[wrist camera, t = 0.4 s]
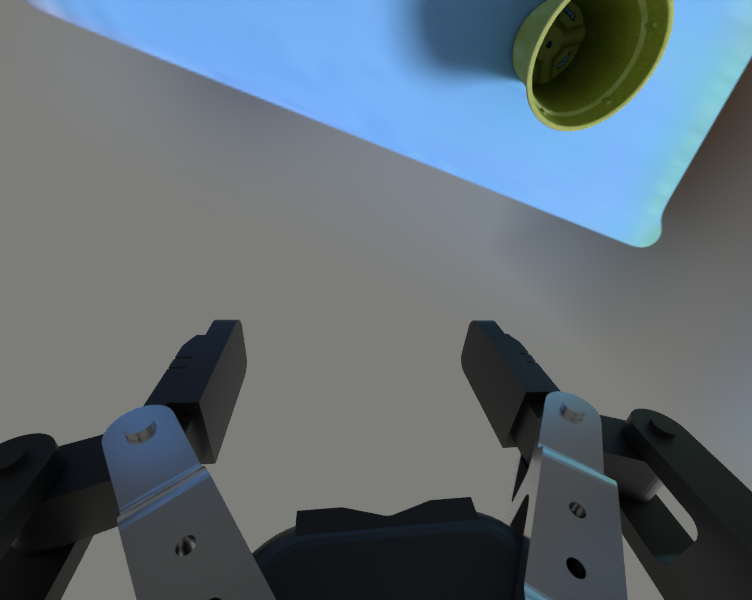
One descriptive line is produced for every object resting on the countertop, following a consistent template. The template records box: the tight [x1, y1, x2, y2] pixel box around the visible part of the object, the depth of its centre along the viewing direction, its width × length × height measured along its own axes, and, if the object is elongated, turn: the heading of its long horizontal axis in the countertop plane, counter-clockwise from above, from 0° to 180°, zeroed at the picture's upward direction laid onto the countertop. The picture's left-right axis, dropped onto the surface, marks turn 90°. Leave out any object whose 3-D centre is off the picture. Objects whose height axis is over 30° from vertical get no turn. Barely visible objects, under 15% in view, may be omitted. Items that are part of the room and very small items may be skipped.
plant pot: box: [513, 0, 674, 131], centre depth 26 cm, size 9×9×9 cm
